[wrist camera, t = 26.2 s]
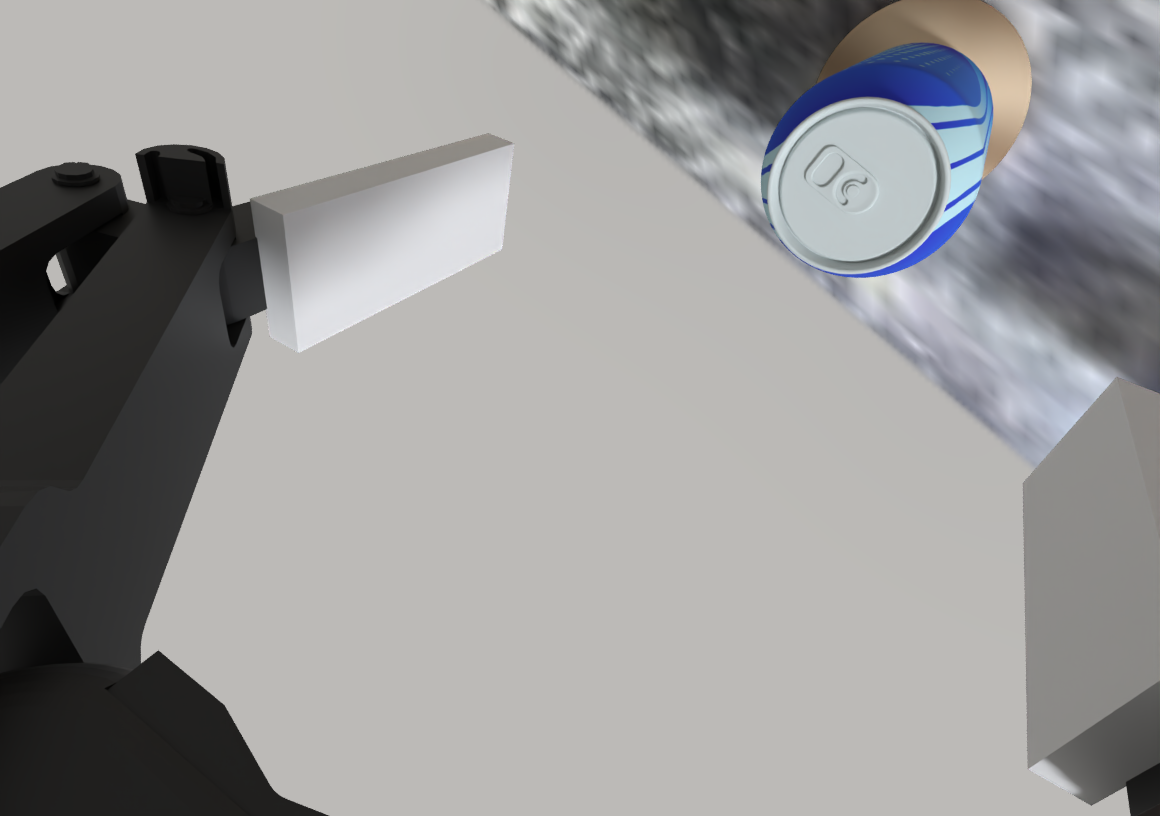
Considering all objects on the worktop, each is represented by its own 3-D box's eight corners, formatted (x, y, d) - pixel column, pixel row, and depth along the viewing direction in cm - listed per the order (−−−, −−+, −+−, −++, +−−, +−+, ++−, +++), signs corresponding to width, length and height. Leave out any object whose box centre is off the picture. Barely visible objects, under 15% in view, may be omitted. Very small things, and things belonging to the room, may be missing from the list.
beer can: (989, 15, 32) (972, 31, 21) (998, 184, 35) (988, 280, 24) (817, 71, 37) (725, 109, 25) (838, 215, 40) (765, 307, 29)
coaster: (861, -31, 35) (859, -31, 34) (1082, 24, 31) (1083, 24, 31) (784, 172, 41) (780, 175, 41) (958, 233, 38) (957, 237, 38)
